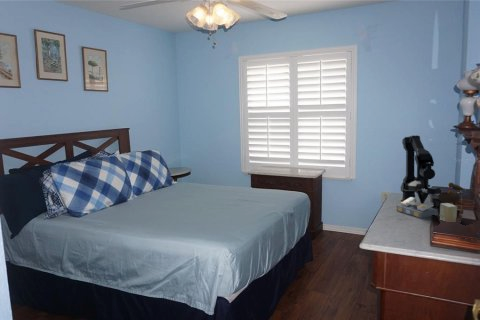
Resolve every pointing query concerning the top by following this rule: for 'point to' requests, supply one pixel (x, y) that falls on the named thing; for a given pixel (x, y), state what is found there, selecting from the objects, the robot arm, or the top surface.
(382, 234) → the top surface
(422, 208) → the rocker right
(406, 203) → the rocker left
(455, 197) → the music box
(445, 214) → the skincare box
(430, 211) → the console
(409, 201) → the rocker middle
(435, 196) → the electrical switch
